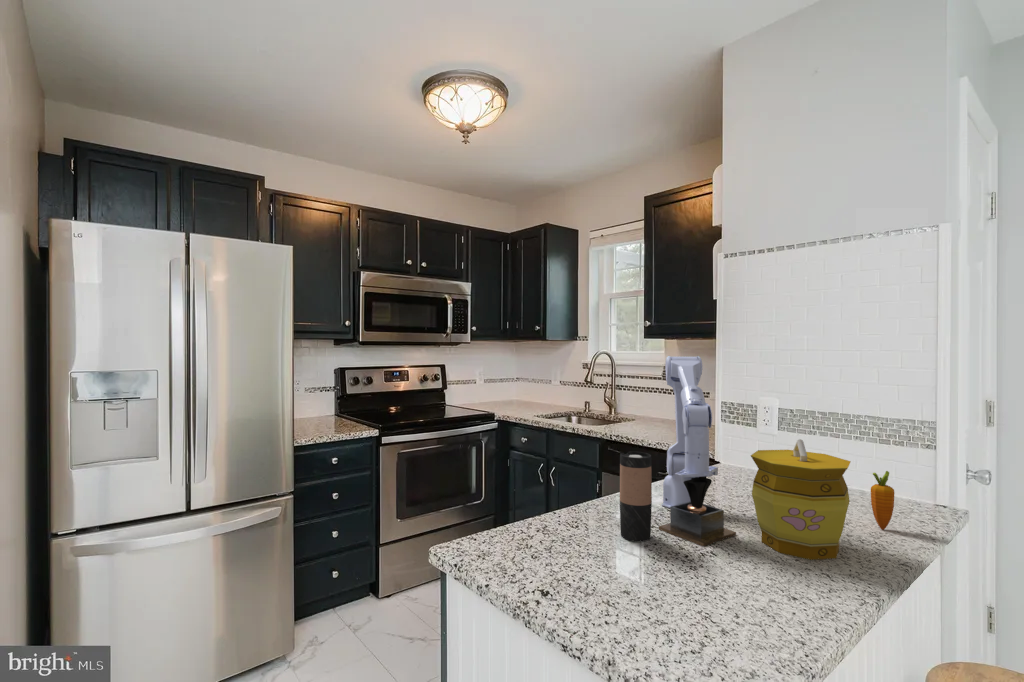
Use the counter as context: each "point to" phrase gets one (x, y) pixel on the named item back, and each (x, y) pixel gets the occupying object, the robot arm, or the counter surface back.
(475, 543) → the counter surface
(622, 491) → the travel mug
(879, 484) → the carrot
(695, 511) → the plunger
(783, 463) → the container
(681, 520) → the knob box on board
